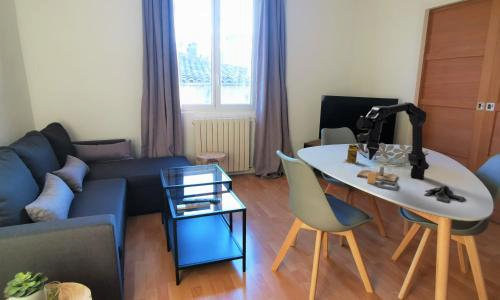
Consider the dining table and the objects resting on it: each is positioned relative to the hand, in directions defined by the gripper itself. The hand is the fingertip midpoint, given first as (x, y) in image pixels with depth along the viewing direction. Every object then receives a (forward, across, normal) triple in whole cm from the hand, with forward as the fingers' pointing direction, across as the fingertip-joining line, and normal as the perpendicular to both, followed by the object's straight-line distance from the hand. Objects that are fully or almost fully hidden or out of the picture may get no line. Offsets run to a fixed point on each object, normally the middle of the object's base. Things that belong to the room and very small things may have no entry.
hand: (369, 158), depth 167 cm
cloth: (+12, +7, +35) cm, 38 cm away
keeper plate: (+13, -13, +6) cm, 19 cm away
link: (+13, +2, +8) cm, 16 cm away
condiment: (+13, -41, -10) cm, 44 cm away
